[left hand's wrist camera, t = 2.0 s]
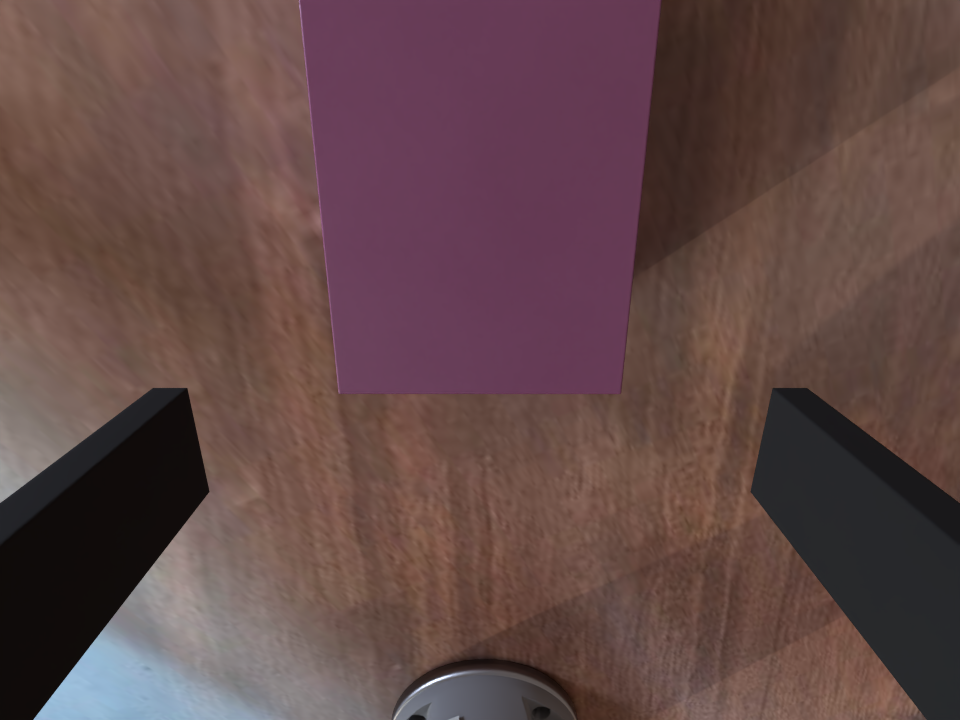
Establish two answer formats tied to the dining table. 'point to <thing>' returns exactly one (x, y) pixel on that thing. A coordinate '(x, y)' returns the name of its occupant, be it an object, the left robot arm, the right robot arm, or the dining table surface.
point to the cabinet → (480, 188)
